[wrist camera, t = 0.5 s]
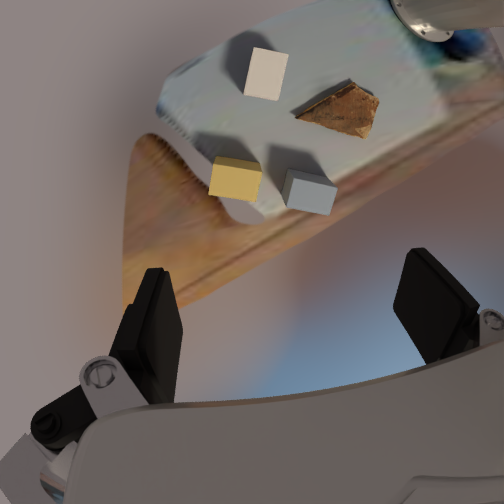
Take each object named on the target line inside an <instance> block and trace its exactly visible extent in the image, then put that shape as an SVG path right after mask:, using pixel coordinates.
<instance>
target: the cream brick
mask: <svg viewBox="0 0 504 504" xmlns="http://www.w3.org/2000/svg"><path fill="white" fill-rule="evenodd" d="M287 59H288V54H284V53H280V52H275V51H270V50H265V49H260V48H255V47H254V49H253V52H252V56H251V60H250V65H249V69H248V74H247V79H246V83H245V88H244V93H243V95H248V96H253V97H259V98H264V99H269V100H274V101H278V99H279V95H280V90H281V86H282V81H283V77H284V72H285V68H286V64H287Z"/></svg>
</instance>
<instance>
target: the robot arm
mask: <svg viewBox="0 0 504 504" xmlns="http://www.w3.org/2000/svg"><path fill="white" fill-rule="evenodd" d="M390 1H391V4H392V7H393V9H394V11H395V13H396V14H397V16H398V18H399V19H400V20H401V21H402V23H403V24H404V25H405V26H406V27H407V28H408V29H409V30H410V31H411V32H413V33H414V34H415V35H417V36H419V37H420V38H422V39H425V40H427V41H431V42H441V41H445V40H447V39H449V38H450V37H451V36H452V34H453V33H454V30H463V29H475V28H491V27H504V0H390ZM479 306H480V305H479V303H478V302H477V301H476V300H475V299H474V298H473V297H472V295H471V294H470V293H469V292H468V291H467V290H466V289H465V288H464V287H463V286H462V285H461V284H460V283H459V282H458V280H456V278H455V277H454V276H453V275H452V274H451V273H450V272H449V271H448V270H447V269H446V268H445V267H444V266H443V265H442V264H441V263H440V262H439V261H438V260H437V259H436V258H435V257H434V256H433V255H432V254H430V253H429V252H428V251H427V250H426V249H425V248H413V249H411V250H410V251H409V252H408V253H407V255H406V259H405V263H404V267H403V271H402V275H401V279H400V282H399V286H398V289H397V293H396V297H395V300H394V303H393V309H394V312H395V313H396V315H397V317H398V318H399V320H400V322H401V323H402V325H403V326H404V328H405V330H406V331H407V333H408V334H409V336H410V338H411V339H412V341H413V343H414V344H415V346H416V347H417V349H418V351H419V353H420V354H421V356H422V358H423V359H424V361H425V363H426V365H424V366H421V367H417V368H414V369H411V370H407V371H404V372H400V373H396V374H393V375H389V376H385V377H381V378H377V379H372V380H368V381H364V382H359V383H354V384H350V385H345V386H339V387H334V388H329V389H323V390H317V391H311V392H305V393H298V394H290V395H282V396H273V397H263V398H252V399H240V400H227V401H208V402H182V403H174V396H175V388H176V379H177V372H178V364H179V357H180V349H181V342H182V335H183V328H182V323H181V319H180V315H179V312H178V307H177V304H176V299H175V295H174V291H173V287H172V283H171V278H170V274H169V272H168V271H164V269H163V268H148V269H147V270H146V272H145V275H144V277H143V280H142V282H141V285H140V287H139V290H138V292H137V295H136V297H135V300H134V302H133V304H129V305H128V306H127V308H126V310H125V313H124V315H123V318H122V320H121V323H120V326H119V328H118V331H117V334H116V336H115V339H114V342H113V344H112V347H111V350H110V353H109V356H98V357H96V358H93V359H91V360H90V361H88V362H87V363H86V364H85V365H84V366H83V368H82V369H81V372H80V375H79V380H80V385H79V386H77V387H75V388H74V389H72V390H71V391H69V392H67V393H66V394H64V395H62V396H61V397H59V398H58V399H56V400H54V401H53V402H51V403H49V404H48V405H46V406H45V407H43V408H41V409H40V410H39V411H37V412H36V413H35V415H34V416H33V418H32V421H31V428H30V429H31V433H30V434H29V435H27V434H26V433H25V434H24V435H23V436H22V437H21V438H20V439H19V440H18V442H17V443H16V444H15V445H14V446H13V447H12V448H11V449H10V451H9V452H8V453H7V454H6V455H5V456H4V457H3V458H2V460H1V461H0V489H1V490H2V491H3V493H4V494H5V496H6V497H7V498H8V500H9V501H10V502H11V504H504V316H503V315H502V314H501V313H499V312H498V311H495V310H493V309H484V310H482V311H481V312H480V314H478V313H477V311H478V309H479Z"/></svg>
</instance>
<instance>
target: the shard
mask: <svg viewBox="0 0 504 504" xmlns="http://www.w3.org/2000/svg"><path fill="white" fill-rule="evenodd" d="M378 104H379V99H378V98H376V97H375V96H372V95H370V94H368V93H366V92H364V91H363V90H362V89H360V88H359V87H357V85H356V84H355V82H352V83H351V84H349V85H348V86H346V87H345V88H343V89H341V90H339V91H337V92H336V93H334V94H332V95H331V96H329V97H327V98H325V99H323V100H321V101H320V102H318V103H316V104H315V105H313V106H311V107H309V108H308V109H306V110H305V111H304V112H303V113H300V114H299V115H297V116H296V117H295V118H296V119H299V120H303V121H307V122H312V123H315V124H319V125H322V126H325V127H327V128H329V129H333V130H336V131H338V132H341V133H345V134H347V135H351V136H354V137H355V136H358V137H360V138H362V139H366V138H367V136H368V134H369V131H370V130H371V127H372V123H373V119H374V116H375V113H376V109H377V107H378Z"/></svg>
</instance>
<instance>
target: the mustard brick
mask: <svg viewBox="0 0 504 504" xmlns="http://www.w3.org/2000/svg"><path fill="white" fill-rule="evenodd" d="M261 176H262V170H261V166H260V163H257V162H251V161H245V160H239V159H233V158H227V157H221V156H216V158H215V161H214V163H213V170H212V175H211V181H210V188H209V195H214V196H222V197H228V198H234V199H240V200H246V201H252V202H256V199H257V194H258V190H259V185H260V180H261Z"/></svg>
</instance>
